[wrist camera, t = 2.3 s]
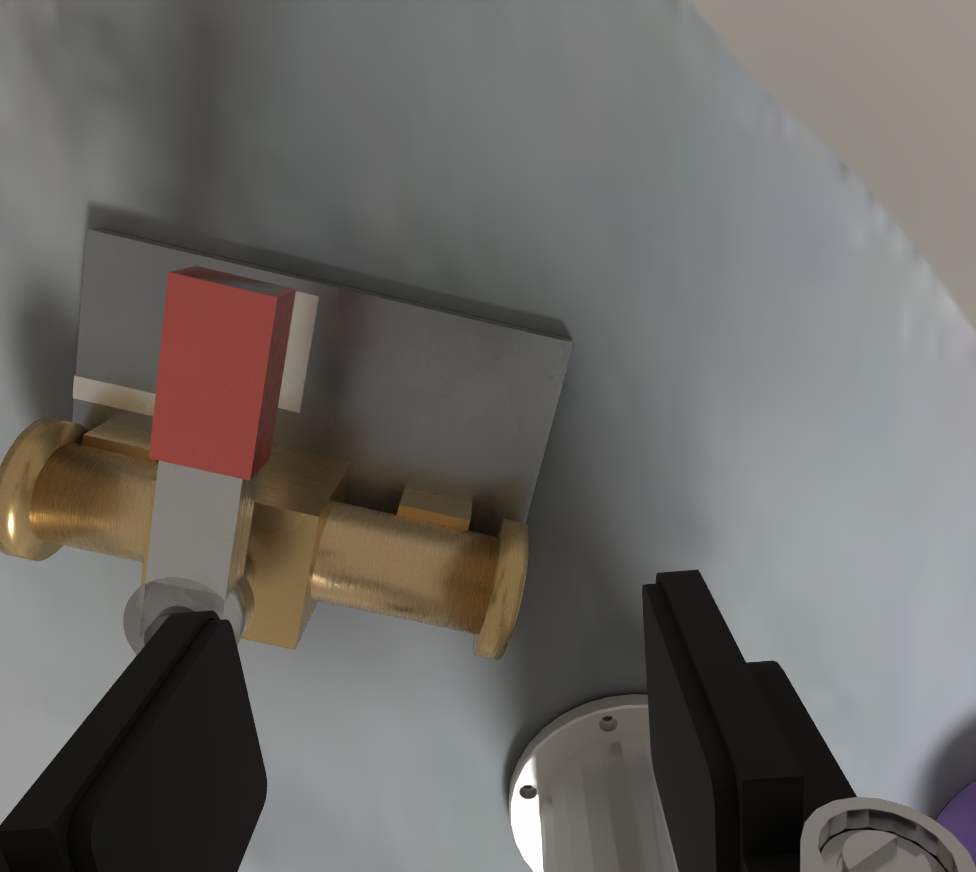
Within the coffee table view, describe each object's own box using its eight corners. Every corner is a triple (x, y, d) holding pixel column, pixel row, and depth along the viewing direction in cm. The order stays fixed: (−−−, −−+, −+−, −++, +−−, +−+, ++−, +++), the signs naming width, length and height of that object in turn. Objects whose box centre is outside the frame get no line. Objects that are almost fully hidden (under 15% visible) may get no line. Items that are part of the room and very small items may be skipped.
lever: (305, 291, 23) (281, 303, 21) (248, 654, 27) (221, 703, 24) (186, 263, 23) (146, 271, 21) (144, 632, 27) (106, 679, 24)
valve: (571, 338, 33) (596, 392, 24) (496, 624, 37) (492, 762, 28) (98, 228, 32) (-61, 240, 23) (74, 533, 36) (-69, 645, 27)
